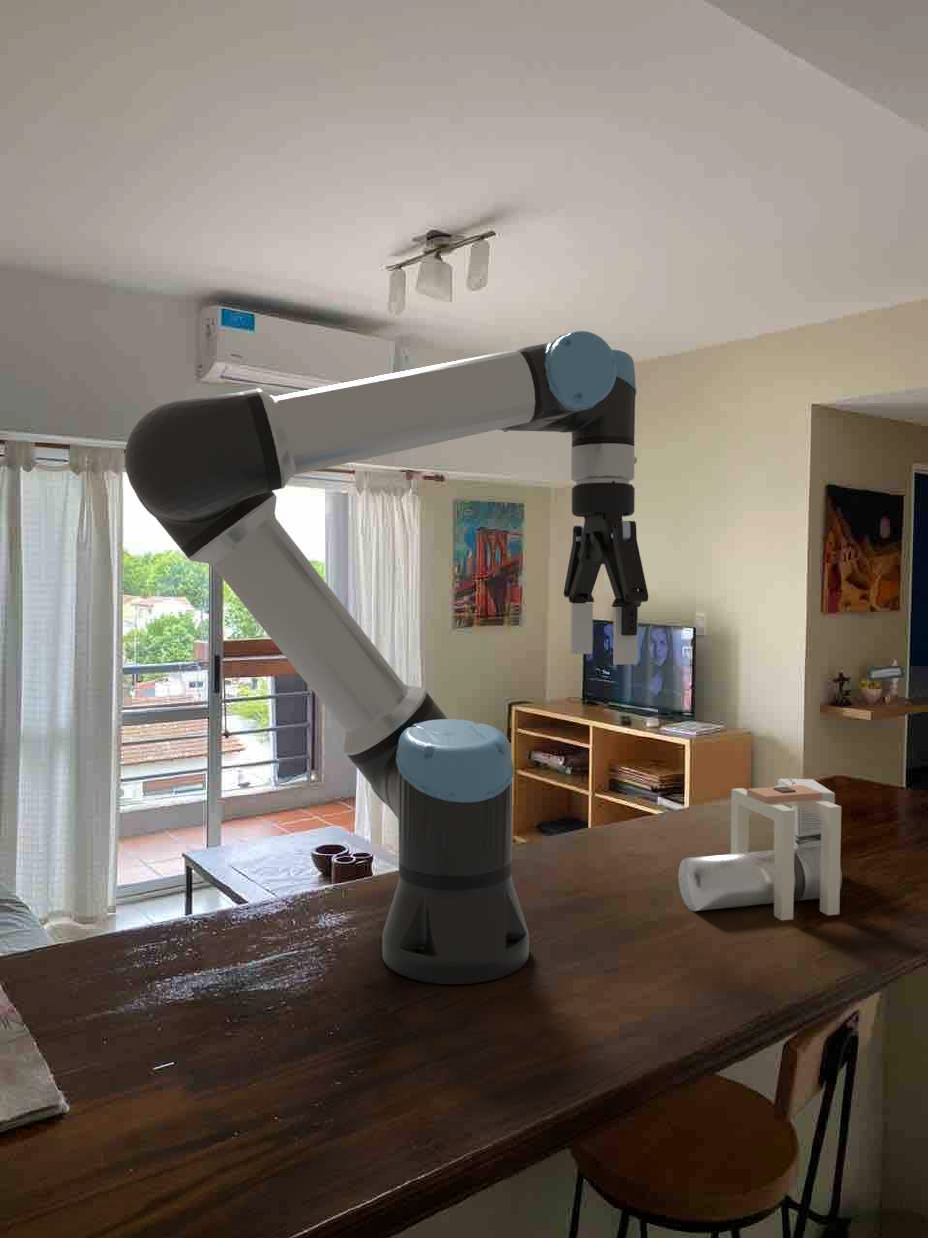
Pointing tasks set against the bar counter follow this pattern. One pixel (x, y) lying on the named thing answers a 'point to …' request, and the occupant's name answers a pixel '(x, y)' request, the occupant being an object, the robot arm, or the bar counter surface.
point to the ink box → (808, 815)
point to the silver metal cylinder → (745, 878)
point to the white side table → (791, 839)
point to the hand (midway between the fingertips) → (602, 659)
